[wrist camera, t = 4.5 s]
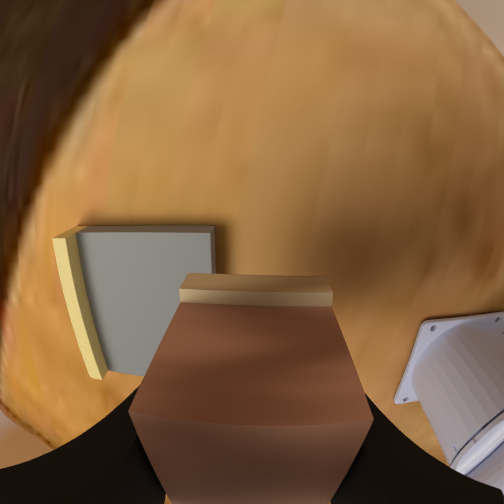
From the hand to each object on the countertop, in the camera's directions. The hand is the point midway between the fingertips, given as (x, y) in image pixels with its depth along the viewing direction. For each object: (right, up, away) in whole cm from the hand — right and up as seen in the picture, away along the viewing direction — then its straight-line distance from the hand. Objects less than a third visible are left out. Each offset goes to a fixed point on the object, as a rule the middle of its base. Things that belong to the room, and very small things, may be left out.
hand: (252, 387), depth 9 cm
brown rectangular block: (0, +1, +2) cm, 2 cm away
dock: (-6, +1, +9) cm, 11 cm away
